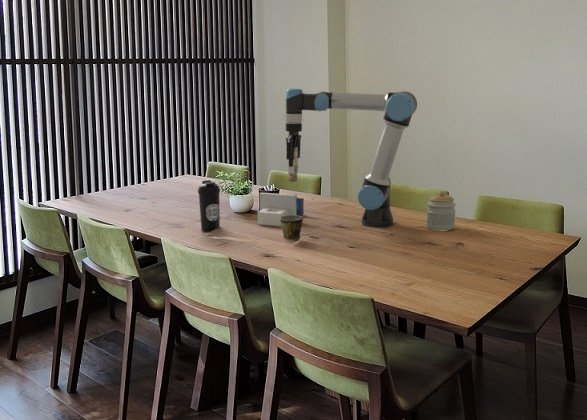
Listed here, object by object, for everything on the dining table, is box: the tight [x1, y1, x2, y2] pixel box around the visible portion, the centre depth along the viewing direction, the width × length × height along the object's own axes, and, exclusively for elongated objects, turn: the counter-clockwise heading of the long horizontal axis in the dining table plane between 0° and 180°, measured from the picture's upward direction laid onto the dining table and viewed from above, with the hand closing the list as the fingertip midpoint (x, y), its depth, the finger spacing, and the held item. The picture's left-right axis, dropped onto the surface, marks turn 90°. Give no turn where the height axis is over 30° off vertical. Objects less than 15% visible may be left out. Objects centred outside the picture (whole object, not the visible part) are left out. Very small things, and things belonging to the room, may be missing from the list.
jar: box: [425, 190, 457, 231], centre depth 325 cm, size 13×13×18 cm
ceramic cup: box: [280, 215, 304, 242], centre depth 308 cm, size 13×10×10 cm
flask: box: [292, 193, 305, 217], centre depth 356 cm, size 9×3×11 cm, turn 61°
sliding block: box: [257, 208, 289, 227], centre depth 335 cm, size 12×10×6 cm
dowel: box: [288, 147, 298, 183], centre depth 330 cm, size 4×4×16 cm
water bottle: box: [197, 179, 221, 233], centre depth 327 cm, size 10×10×23 cm
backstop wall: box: [259, 192, 297, 215], centre depth 331 cm, size 18×23×14 cm
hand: (293, 172), depth 331 cm, fingers closed on dowel, 4 cm apart
